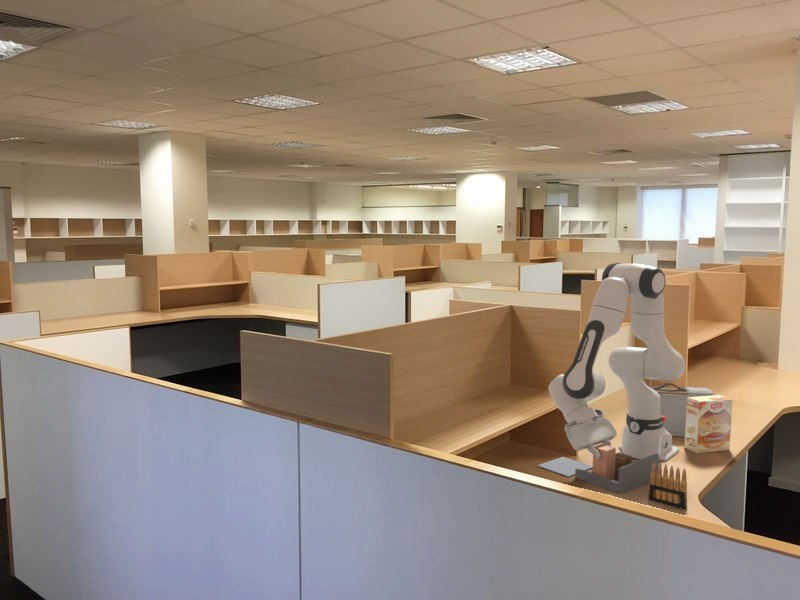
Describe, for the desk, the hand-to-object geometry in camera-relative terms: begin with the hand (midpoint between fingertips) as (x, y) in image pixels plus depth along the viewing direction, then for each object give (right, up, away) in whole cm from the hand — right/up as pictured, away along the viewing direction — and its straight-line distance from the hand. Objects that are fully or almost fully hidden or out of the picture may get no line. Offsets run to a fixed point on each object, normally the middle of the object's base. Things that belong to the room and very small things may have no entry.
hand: (606, 455), depth 214 cm
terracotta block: (0, -8, +1) cm, 8 cm away
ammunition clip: (+13, -11, -17) cm, 24 cm away
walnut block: (+7, -8, +8) cm, 13 cm away
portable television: (+45, -3, +53) cm, 70 cm away
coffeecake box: (+48, -5, +32) cm, 58 cm away
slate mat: (-10, -7, +13) cm, 18 cm away
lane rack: (+4, -8, +4) cm, 10 cm away
